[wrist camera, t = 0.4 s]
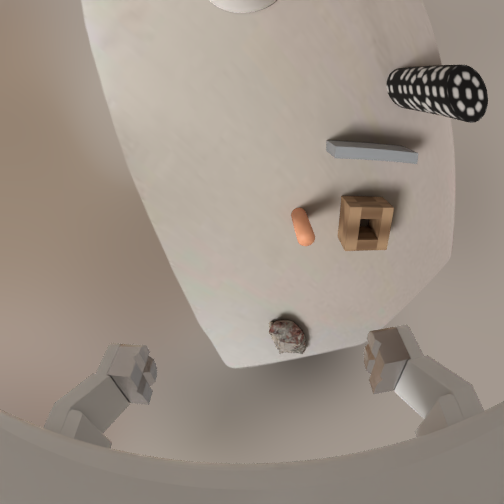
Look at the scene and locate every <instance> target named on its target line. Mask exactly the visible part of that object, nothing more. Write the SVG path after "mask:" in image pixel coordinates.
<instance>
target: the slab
mask: <svg viewBox="0 0 504 504" xmlns="http://www.w3.org/2000/svg"><path fill="white" fill-rule="evenodd" d="M326 151H327V152H328V153H330V154H331V155H332V156H333V157H334V158H346V159H365V160H380V161H393V162H404V163H414V164H417V160H418V153H416V152H414V151H412V150H410V149H408V148H406V147H403V146H396V145H387V144H376V143H363V142H349V141H328V140H327V147H326Z"/></svg>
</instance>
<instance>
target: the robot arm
mask: <svg viewBox="0 0 504 504" xmlns="http://www.w3.org/2000/svg"><path fill="white" fill-rule="evenodd" d="M209 1H210V2H211V3H212V4H214V5H215V6H217V7H218V8H221V9H223V10H226V11H230V12H236V13H248V12H254V11H258V10H261V9H264V8H266V7H268V6H269V5H271V4H272V3H274V2H275V1H276V0H209ZM367 340H368V344H367V345H366V346H365V349H364V364H365V368H366V371H368V372H369V373H370V374H371V376H370V379H369V381H370V384H371V388H372V391H373V394H376V393H382V392H387V391H392V390H394V392H396V393H397V394H398V395H399V396H400V397H401V398H402V399H403V400H404V401H405V402H406V403H407V404H408V405H409V406H411V407H412V408H413V409H414V410H415V411H416V412H417V413H418V414H419V415H420V416H421V417H422V418H423V419H424V420H423V422H422V423H421V424H420V425H419V427H418V428H417V429H416V431H415V433H416V438H413V439H410V440H407V441H403V442H400V443H396V444H393V445H389V446H384V447H381V448H377V449H372V450H368V451H363V452H358V453H352V454H348V455H341V456H335V457H329V458H323V459H314V460H305V461H294V462H281V463H257V464H230V463H206V462H193V461H182V460H172V459H165V458H158V457H151V456H146V455H139V454H134V453H129V452H124V451H120V450H115V449H111V445H112V442H111V441H110V440H109V439H108V438H107V437H106V436H105V435H104V434H103V433H104V432H105V431H106V430H107V428H108V427H109V426H110V425H111V424H112V423H113V422H114V421H115V420H116V419H117V418H118V417H119V415H120V414H121V413H122V412H123V411H124V410H125V409H126V408H127V407H128V406H129V405H130V403H136V404H149V402H150V399H151V395H152V392H153V391H152V389H151V385H152V384H153V383H154V382H155V381H156V377H157V367H156V363H155V361H154V359H152V358H151V357H150V356H149V353H150V351H149V349H148V348H147V346H145V345H131V344H116V343H111V344H110V345H109V346H108V348H107V350H106V352H105V354H104V356H103V359H102V361H101V363H100V365H99V367H98V370H97V372H96V374H92V375H90V376H89V377H88V378H86V379H85V380H84V381H82V382H81V383H80V384H78V385H77V386H76V387H75V388H73V389H72V390H71V391H69V392H68V393H67V394H66V395H64V396H63V397H62V398H60V399H59V400H58V401H57V402H55V403H54V405H53V407H52V409H51V411H50V414H49V416H48V418H47V420H46V423H45V425H44V428H42V427H40V426H37V425H35V424H32V423H30V422H27V421H25V420H23V419H20V418H18V417H16V416H14V415H12V414H9V413H7V412H5V411H3V410H1V409H0V504H504V401H503V402H501V403H499V404H497V405H495V406H493V407H491V408H489V409H487V410H485V411H484V409H483V407H482V405H481V403H480V401H479V399H478V396H477V394H476V392H475V390H474V388H473V386H472V384H470V383H469V382H467V381H466V380H464V379H463V378H461V377H460V376H458V375H457V374H455V373H453V372H452V371H451V370H449V369H447V368H446V367H444V366H443V365H441V364H440V363H438V362H437V361H435V360H434V359H432V358H430V357H429V356H428V355H427V356H424V355H423V353H422V351H421V349H420V347H419V345H418V343H417V341H416V339H415V337H414V335H413V333H412V331H411V329H410V327H409V326H408V325H403V326H397V327H391V328H385V329H380V330H374V331H370V332H369V333H368V336H367Z"/></svg>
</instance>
